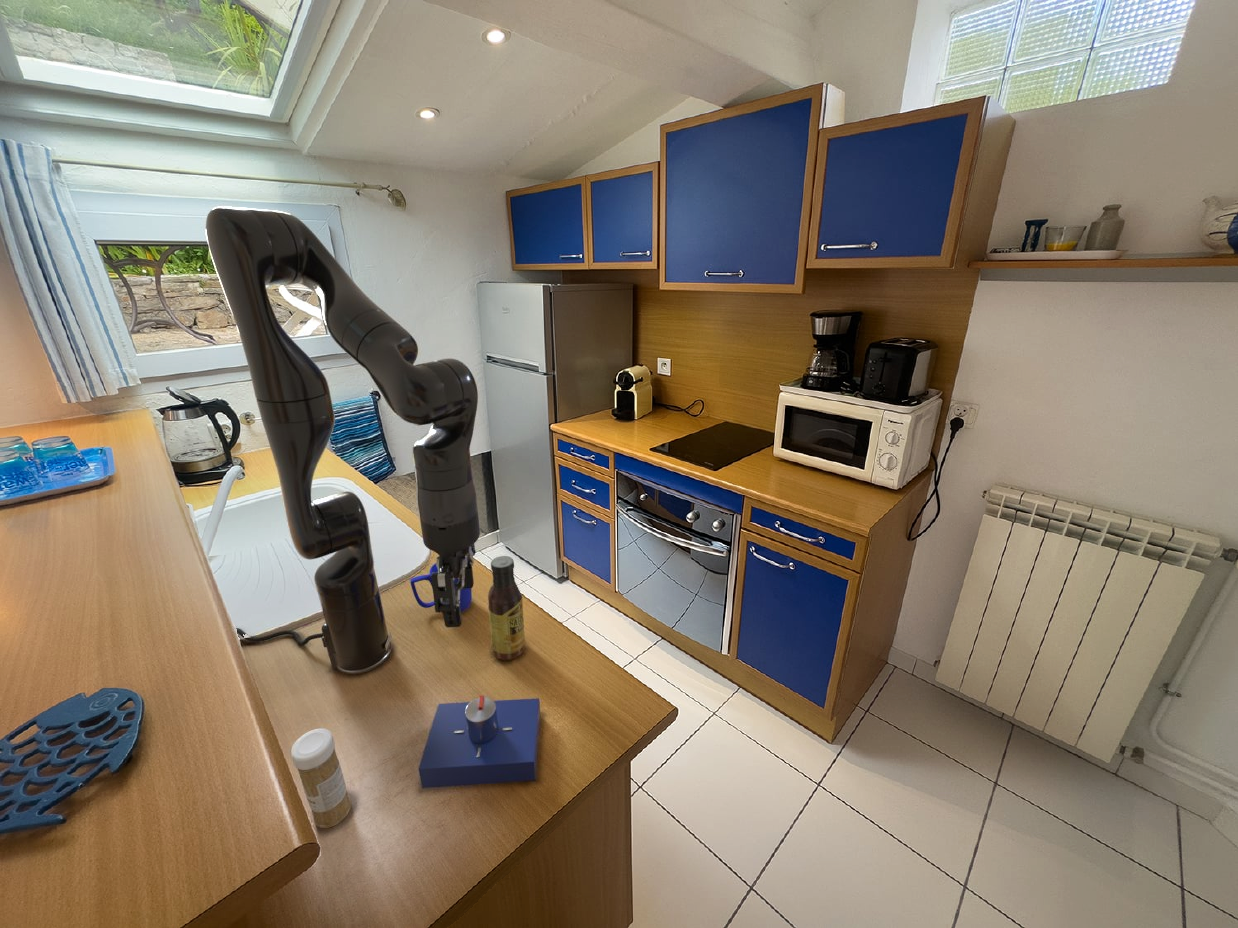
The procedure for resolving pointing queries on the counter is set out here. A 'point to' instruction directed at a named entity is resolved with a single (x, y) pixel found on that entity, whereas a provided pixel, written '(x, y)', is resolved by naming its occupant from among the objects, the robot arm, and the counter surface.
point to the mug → (464, 593)
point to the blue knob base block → (482, 747)
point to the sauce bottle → (505, 611)
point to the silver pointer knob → (481, 720)
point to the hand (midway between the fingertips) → (460, 605)
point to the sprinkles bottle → (321, 777)
